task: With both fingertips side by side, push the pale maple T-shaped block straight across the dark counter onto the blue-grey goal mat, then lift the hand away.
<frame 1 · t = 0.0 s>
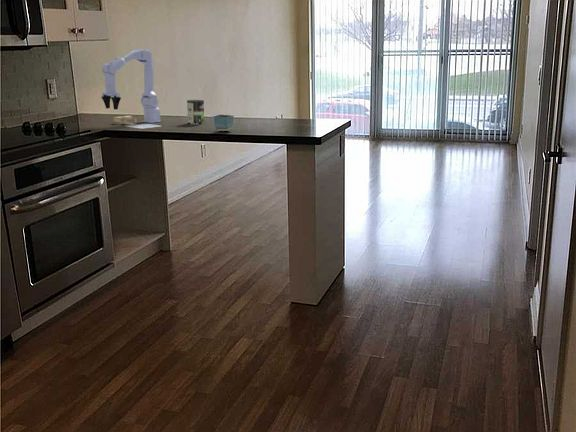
hand: (111, 108, 351), 10 cm above the counter, tool pointing down, fingers open, 7 cm apart
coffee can: (196, 123, 372), on the counter
t block: (127, 123, 365), on the counter
flower pot: (223, 132, 339), on the counter
goal mat: (143, 126, 356), on the counter
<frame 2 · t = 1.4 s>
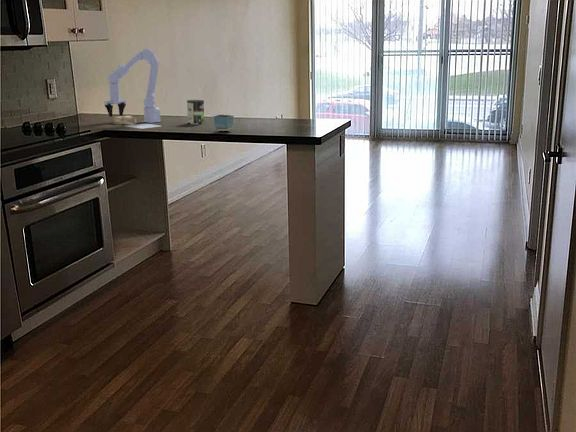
hand: (115, 116, 371), 4 cm above the counter, tool pointing down, fingers open, 7 cm apart
nothing on the counter moved.
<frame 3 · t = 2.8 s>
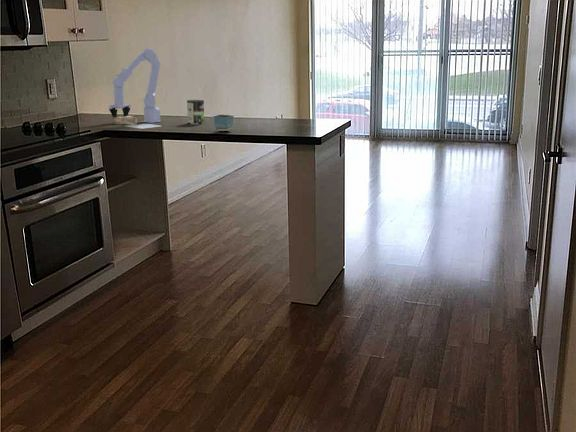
hand: (120, 120, 369), 2 cm above the counter, tool pointing down
t block: (128, 123, 365), on the counter, touching gripper
everything else where it was.
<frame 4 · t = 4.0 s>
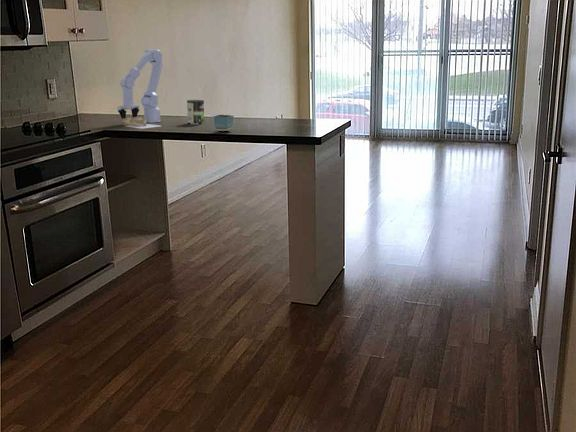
hand: (129, 121, 364), 2 cm above the counter, tool pointing down
t block: (137, 125, 360), on the counter, touching gripper
everything else where it was.
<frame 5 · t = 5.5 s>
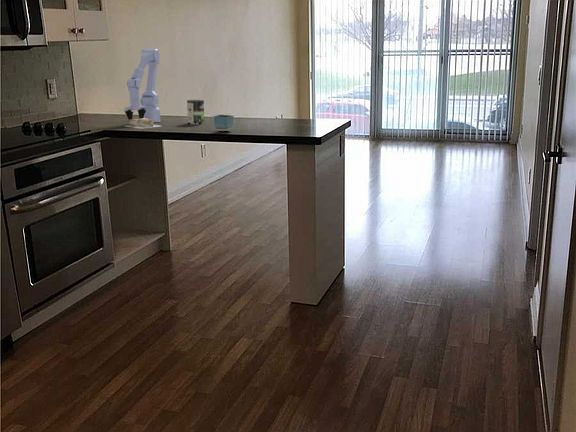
hand: (136, 122, 360), 2 cm above the counter, tool pointing down
t block: (144, 126, 356), on the counter, touching goal mat, gripper
everything else where it was.
when the fingers open (2 cm above the counter, at t = 5.9 s): t block stays where it is, resting on goal mat.
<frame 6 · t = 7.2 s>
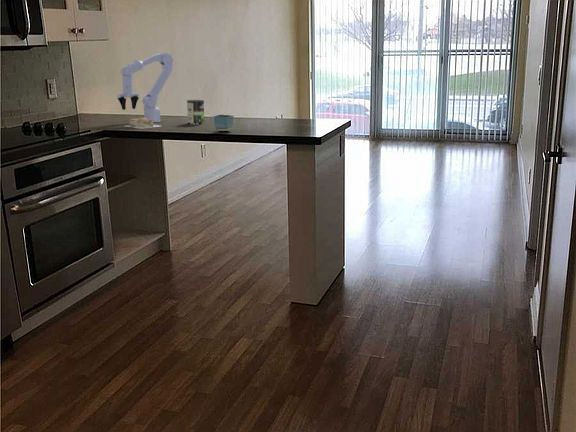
hand: (128, 109, 366), 8 cm above the counter, tool pointing down, fingers open, 7 cm apart
t block: (144, 126, 356), resting on goal mat
everything else where it was.
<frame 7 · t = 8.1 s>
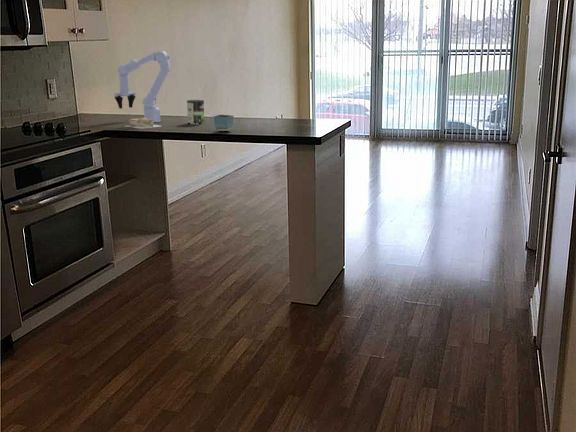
hand: (125, 107, 373), 8 cm above the counter, tool pointing down, fingers open, 7 cm apart
nothing on the counter moved.
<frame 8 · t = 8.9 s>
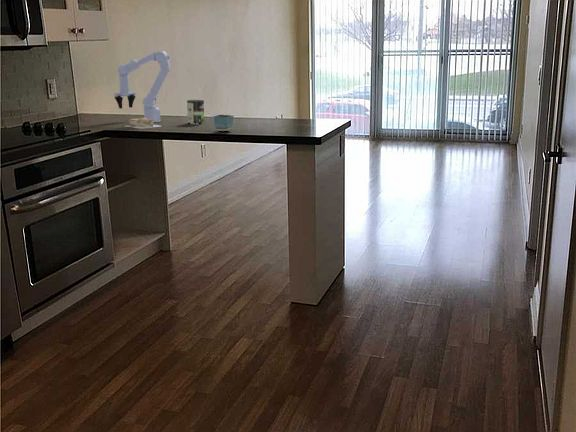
hand: (125, 107, 373), 8 cm above the counter, tool pointing down, fingers open, 7 cm apart
nothing on the counter moved.
at the end: t block inside the target area on the goal mat (0.7 cm from its centre), point 0.0 cm above the goal mat's base; t block tilted 0°; t block moved 15.6 cm from its start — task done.
